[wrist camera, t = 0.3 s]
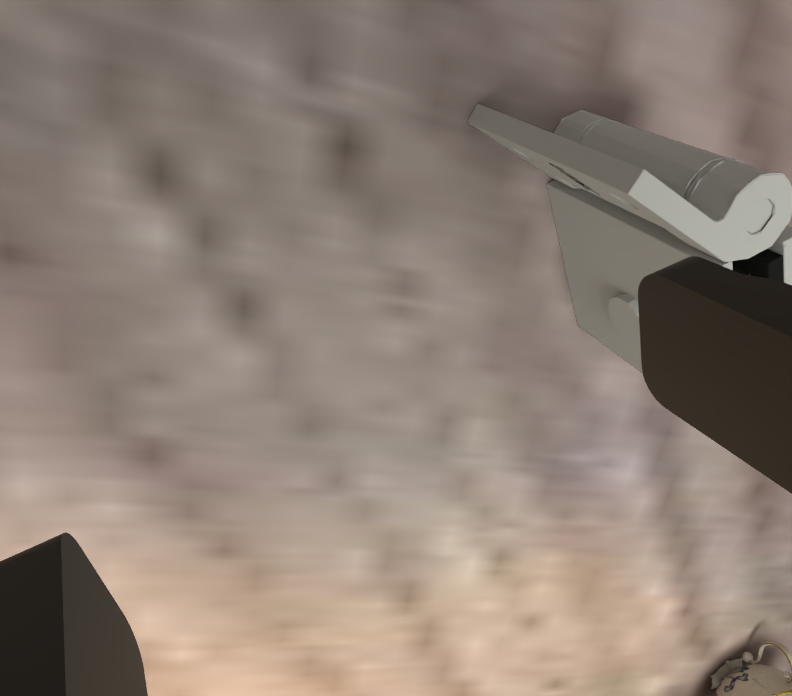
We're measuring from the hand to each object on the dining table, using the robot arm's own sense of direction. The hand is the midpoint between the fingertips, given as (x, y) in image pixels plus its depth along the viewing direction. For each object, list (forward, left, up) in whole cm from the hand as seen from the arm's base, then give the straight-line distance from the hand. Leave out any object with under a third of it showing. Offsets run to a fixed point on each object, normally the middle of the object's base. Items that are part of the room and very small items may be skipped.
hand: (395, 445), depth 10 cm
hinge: (+7, +15, -19) cm, 25 cm away
